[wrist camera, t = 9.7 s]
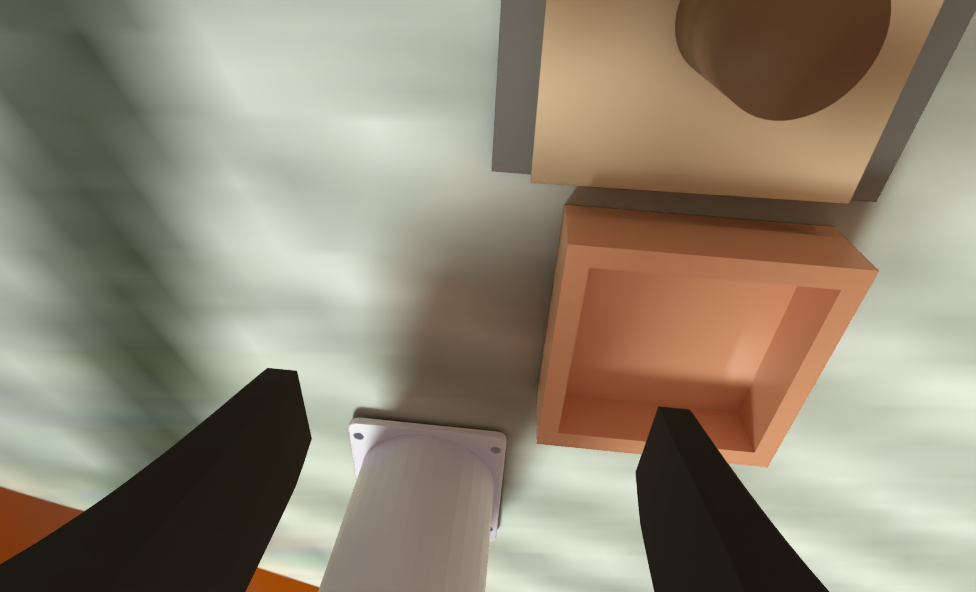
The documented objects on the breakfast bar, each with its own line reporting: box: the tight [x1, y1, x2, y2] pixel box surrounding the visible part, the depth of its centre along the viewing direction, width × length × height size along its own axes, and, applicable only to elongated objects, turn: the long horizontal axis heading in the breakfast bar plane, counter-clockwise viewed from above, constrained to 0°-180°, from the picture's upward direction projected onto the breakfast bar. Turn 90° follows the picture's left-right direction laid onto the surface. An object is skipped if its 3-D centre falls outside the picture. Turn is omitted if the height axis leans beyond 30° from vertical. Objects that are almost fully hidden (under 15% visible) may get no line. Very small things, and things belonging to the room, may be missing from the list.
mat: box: [492, 0, 976, 202], centre depth 15 cm, size 11×13×1 cm
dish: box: [537, 205, 879, 467], centre depth 20 cm, size 10×10×3 cm
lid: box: [531, 0, 944, 204], centre depth 13 cm, size 10×10×5 cm
